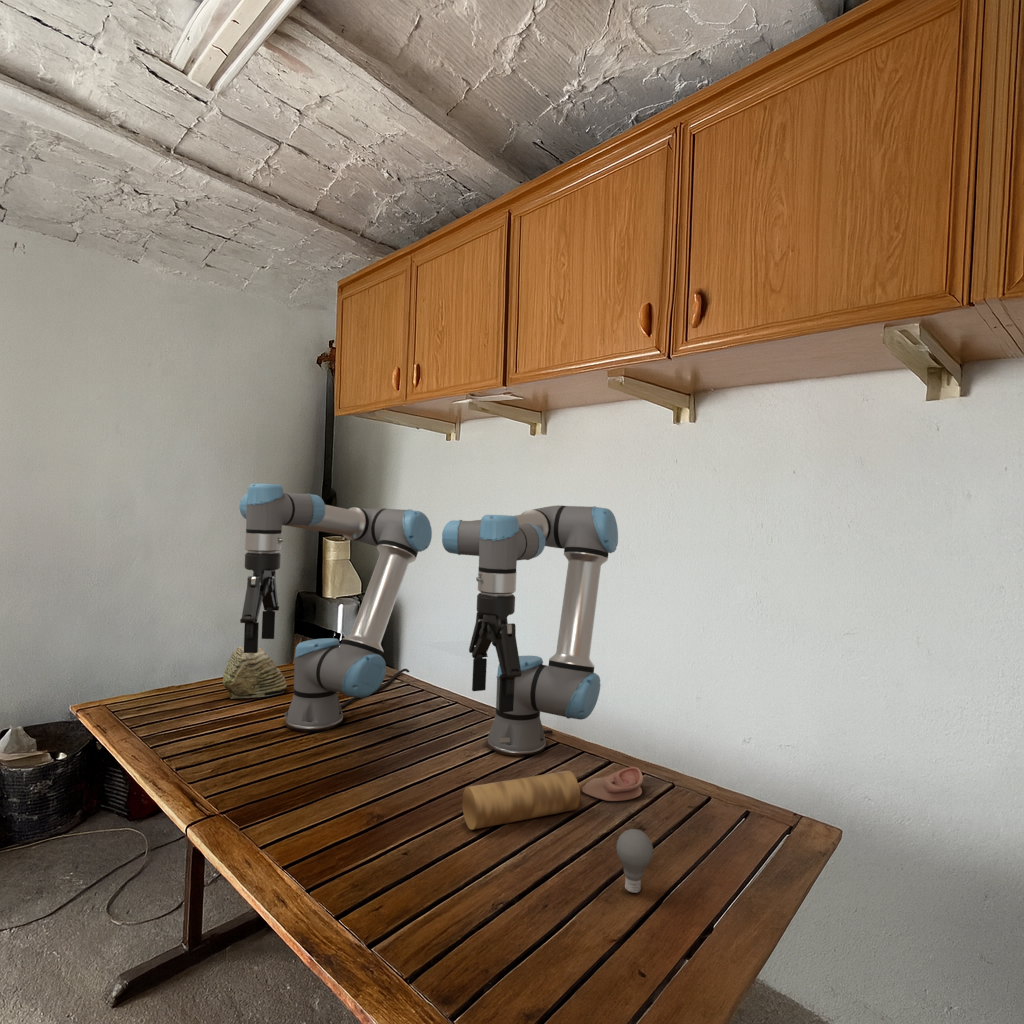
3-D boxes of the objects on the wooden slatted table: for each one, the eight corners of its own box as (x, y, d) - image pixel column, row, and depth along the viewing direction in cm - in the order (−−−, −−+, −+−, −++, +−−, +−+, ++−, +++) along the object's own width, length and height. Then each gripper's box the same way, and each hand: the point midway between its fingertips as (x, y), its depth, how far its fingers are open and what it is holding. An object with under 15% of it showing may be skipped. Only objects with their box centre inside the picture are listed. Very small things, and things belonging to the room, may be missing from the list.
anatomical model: (581, 779, 138) (585, 758, 149) (580, 797, 138) (585, 775, 149) (643, 787, 135) (643, 766, 147) (642, 806, 136) (642, 783, 147)
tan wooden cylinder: (560, 799, 137) (562, 764, 137) (579, 816, 130) (581, 779, 130) (461, 818, 127) (463, 780, 127) (475, 837, 120) (477, 797, 120)
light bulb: (610, 879, 108) (613, 822, 108) (644, 879, 109) (647, 822, 109) (619, 902, 102) (622, 840, 102) (655, 901, 103) (658, 840, 103)
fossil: (218, 695, 195) (220, 647, 195) (278, 685, 208) (279, 640, 207) (228, 703, 189) (230, 653, 188) (289, 692, 201) (290, 645, 201)
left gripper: (264, 557, 131) (261, 659, 131) (293, 548, 156) (289, 633, 156) (227, 556, 130) (223, 659, 131) (261, 546, 155) (258, 633, 155)
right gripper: (456, 584, 134) (452, 684, 135) (505, 604, 112) (499, 723, 112) (489, 584, 137) (484, 681, 138) (542, 603, 115) (537, 719, 115)
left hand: (259, 645), depth 143 cm, fingers open, 13 cm apart
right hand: (491, 700), depth 125 cm, fingers open, 13 cm apart
